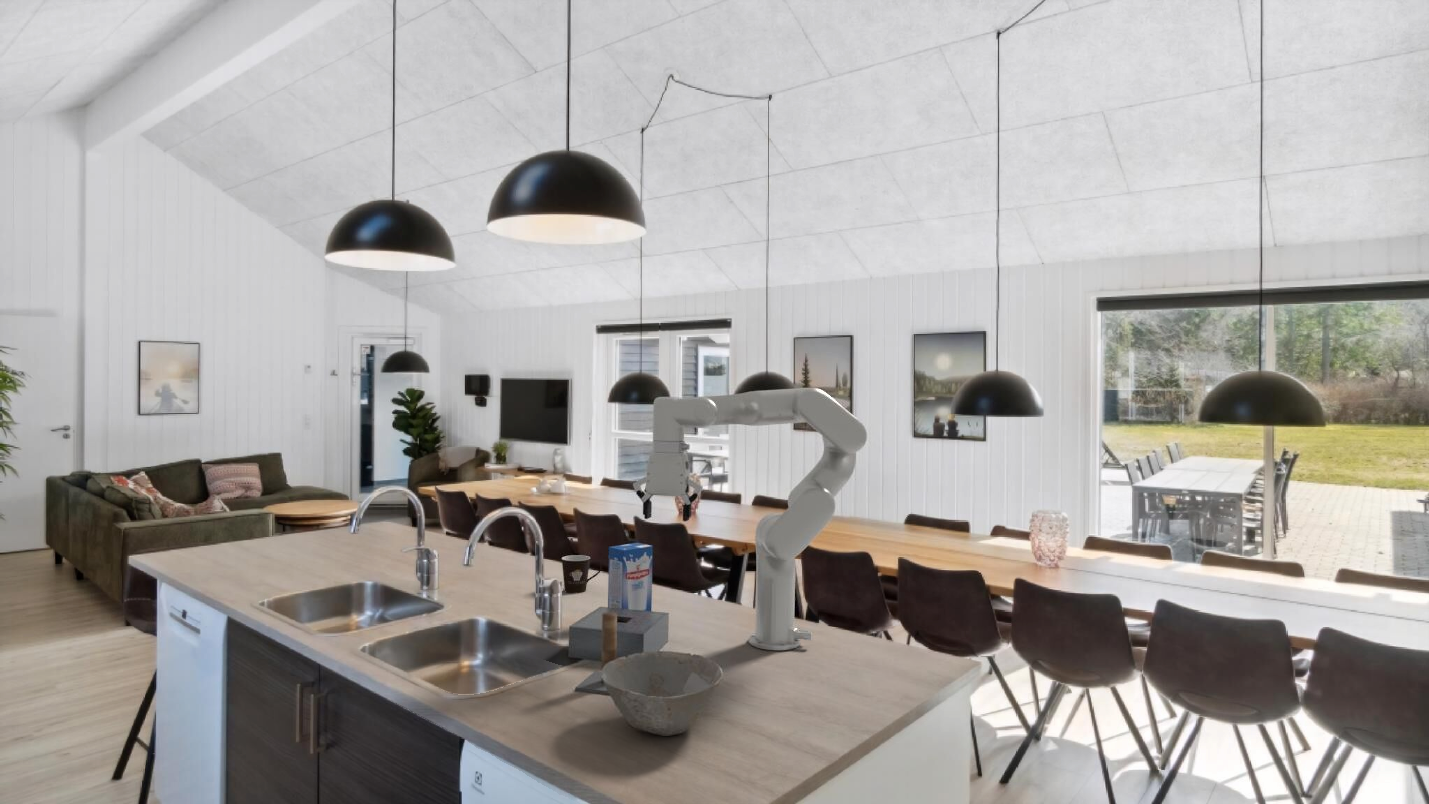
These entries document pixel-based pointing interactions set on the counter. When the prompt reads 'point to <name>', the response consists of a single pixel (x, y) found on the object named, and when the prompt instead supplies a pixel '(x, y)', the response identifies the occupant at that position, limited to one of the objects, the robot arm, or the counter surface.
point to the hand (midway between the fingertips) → (666, 519)
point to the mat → (593, 684)
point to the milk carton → (630, 577)
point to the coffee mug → (577, 572)
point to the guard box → (619, 633)
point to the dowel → (609, 637)
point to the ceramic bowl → (661, 689)
